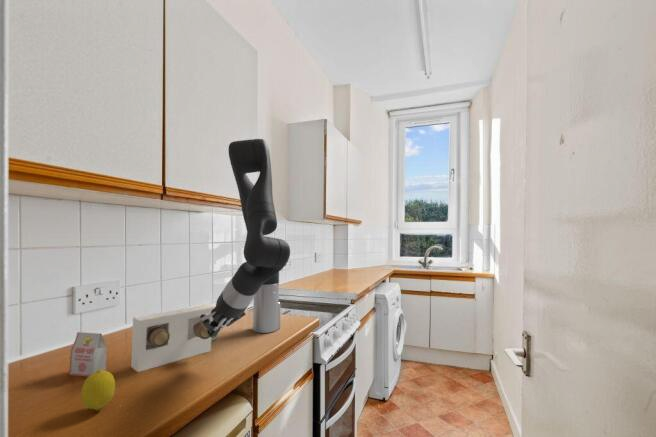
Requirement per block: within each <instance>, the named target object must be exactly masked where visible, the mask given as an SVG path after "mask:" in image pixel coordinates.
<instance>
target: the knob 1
mask: <svg viewBox="0 0 656 437" xmlns="http://www.w3.org/2000/svg"><path fill="white" fill-rule="evenodd" d="M169 337H170V334H169V332H168V331H167V330H165V329H163V328H161V327H156V328H154V329H152V330H150V331H149V333H148V341H149V343H151V344H152V345H154V346H156V347H161V346H164V345H165V344H166V343H167V342H168V340H169Z"/></svg>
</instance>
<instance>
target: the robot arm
mask: <svg viewBox="0 0 656 437" xmlns="http://www.w3.org/2000/svg"><path fill="white" fill-rule="evenodd" d="M228 158H229V161H230V165H231V169H232V173H233V177H234V179H235V182H236V183H235V184H236V186H237V190H238V195H239V202H240V207H241V211H242V216H243V220H244V223H245V224H244V225H245V228H246V231H247V232H246V238H245V243H244V247H243V257H244V259H245V262H243V263H241V265H240V266H239V267H238V269H237V270H236V272H235V273H234V274H233V276H232V278H231V279H230V280H229V281H228V282H227V284H226V285H225V287H224V288H223V290H222V292H221V293H220V295H219V296H218V297H217V299H216V304H215V307H213V308H214V309H213V310H212V311H211V313H210V314H209V315H205V314H202V315H201V316H200V317H201V320H202V323H203V325H204V326H205V327H206V328H207V329H208V330H207V332H208V335H209V336H210V337H213V336H216V335H217V333H218V334H219V332H220V331H221V330H222V329H224V328H225V327H229V326H231V325H232V324H234V323H236V322H237V321H239V320H240V319H241V318H244V317H245V316H246V315H247V314H246V312H245V311H246V310H247V308H248V307H249V306H250V304H251V303H252V301H253V306H252V308H253V311H252V312H253V313H252V331H253V332H255V333H261V334H266V333H267V334H268V333H274V332H276V331H278V329H280V328H281V306H282V305H281V302H280V301H279V300H280V299H279V298H280V271H281V270H283V269H284V267H285V266H286V265H287V263H288V262H289V260H290V256H291V247H290V245H289V244H288V242H287V241H286V240H284V239H281V238H275V237H270V236H268V235H271V234H273V233H274V232H275V231H276V229H277V227H278V220H277V215H276V210H275V205H274V197H273V175H272V162H271V155H270V149H269V146H268V143H267V142H266V140H265V139H263V138H253V139H244V140H235V141H231V142H230V143H229V145H228ZM251 173H252V174H253V173H259V176H258V178H257V180H256V182H255V183H253V182H252V181H251V179H250V178H249V177H248V175H247V174H251ZM212 318H213V319H212ZM211 319H212V321H211ZM210 321H211V322H210Z"/></svg>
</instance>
